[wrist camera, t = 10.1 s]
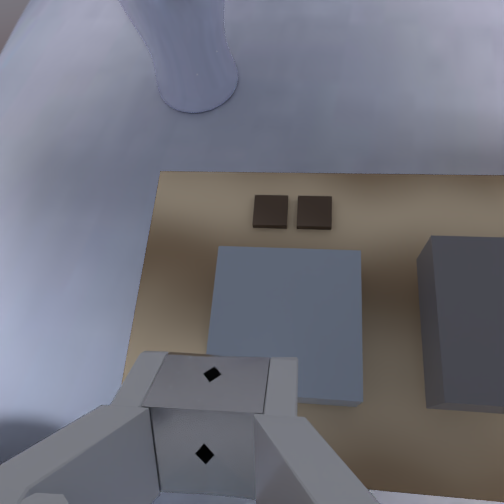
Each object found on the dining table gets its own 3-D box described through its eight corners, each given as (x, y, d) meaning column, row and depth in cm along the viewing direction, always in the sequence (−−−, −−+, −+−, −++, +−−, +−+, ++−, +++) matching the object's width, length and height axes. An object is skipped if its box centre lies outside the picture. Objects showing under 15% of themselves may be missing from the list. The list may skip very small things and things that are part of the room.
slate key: (355, 407, 16) (363, 401, 14) (213, 396, 16) (202, 390, 14) (354, 270, 18) (360, 250, 16) (226, 266, 18) (218, 245, 16)
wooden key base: (722, 508, 21) (1011, 550, 12) (172, 459, 24) (103, 465, 16) (654, 265, 26) (829, 175, 17) (200, 250, 29) (158, 167, 20)
